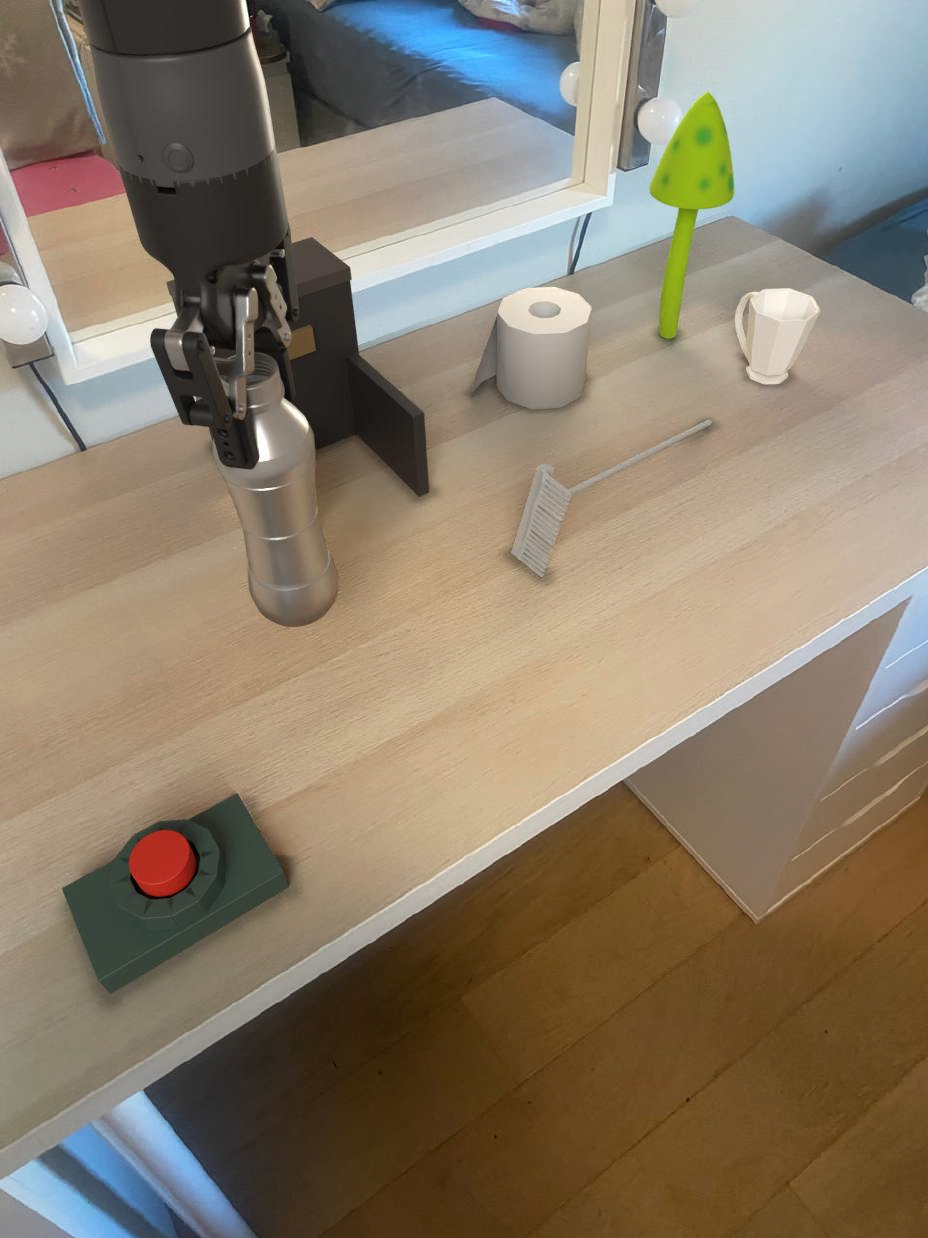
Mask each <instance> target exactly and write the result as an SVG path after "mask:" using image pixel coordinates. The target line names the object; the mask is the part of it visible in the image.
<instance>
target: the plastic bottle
mask: <svg viewBox="0 0 928 1238" xmlns="http://www.w3.org/2000/svg"><path fill="white" fill-rule="evenodd" d="M235 357H236V355H234V356H231V357H229V358H227V359H235ZM219 376H220V379H221V382H222V385H223V388H224V391H225V394H226V396H229V379H228V378H227V377H226V376H225V375H219ZM284 394H285V390H284V385H283V382H282V380H281V378H280V373H279V368H278V365H277V362H276V361H275V359H274V358H272V357H271V356H269V355H267V354H264V353H258V352H254V371H253V373H252V374H250V375H248V376H247V378H246V404H247V409H246V411H249V416H250V420H251V424H252V429H253V433H254V437H255V441H256V446H257V450H258V454H259V460H258V462H257V464H256V466H255V467H254V468H253V469H251V470H248V469H240V468H232V467H227V466H225V465H223V464H222V463H221V461H220V460H219V457H218V453H217V450H216V445H215V442H214V439H213V442H212V455H213V458H214V461H215V463H216V466H217V470H218V471H219V474H220V476H221V478H222V480H223V482H224V484H225V487H226V489H227V491H228V494H229V495H230V498H231V500H232V502H233V504H234V505H233V506H234V507H235V511H236V513H237V517H238V520H239V524H240V526H241V529H242V533H243V539H244V546H245V552H246V558H247V583H248V592H249V595H250V598H251V599H252V601H253V603H254V605H255V606H256V608H257V610H258V611H259V613H260V615H262V616H263V617H264V618H265V619H267V620H269V621H270V622H272V623H274V624H276V625H279V626H282V627H288V628H299V627H300V628H301V627H305V626H308V625H312V624H314V623H315V622H317V621H319V620H321V619H322V618H323V617H324V616H325V615H326V614H327V613H328V612H329V610H331V608H332V607H333V605H334V604H335V602H336V600H337V598H338V591H339V571H338V568H337V564H336V563H335V559H334V556H333V553H332V552H331V550H330V548H329V546H328V544H327V540H326V537H325V533H324V529H323V526H322V522H321V519H320V518H321V517H320V515H319V514H320V513H319V504H318V496H317V487H316V450H315V442H314V433H313V431H312V429H311V427H310V425H309V423H308V421H307V419H306V417H305V416H304V415H303V414H302V413H301V412H300V411H299V410H298V409H297V408H296V407H295V406H294V405H293V404H292V403H290V402H289V401H288V400H286V399H285V398H283V397H284Z"/></svg>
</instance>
